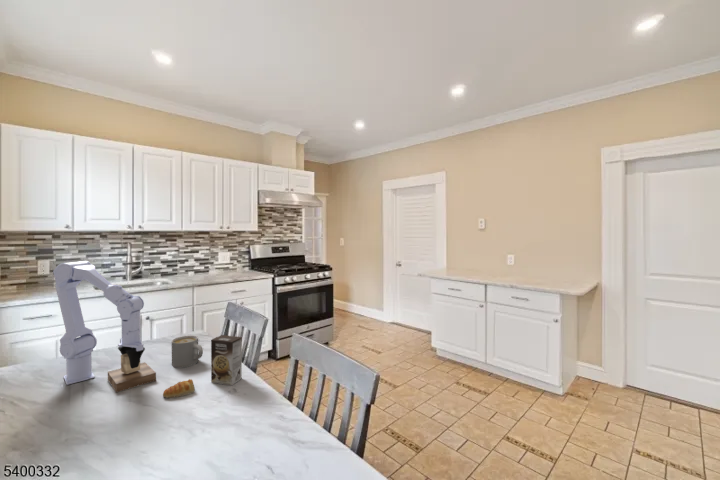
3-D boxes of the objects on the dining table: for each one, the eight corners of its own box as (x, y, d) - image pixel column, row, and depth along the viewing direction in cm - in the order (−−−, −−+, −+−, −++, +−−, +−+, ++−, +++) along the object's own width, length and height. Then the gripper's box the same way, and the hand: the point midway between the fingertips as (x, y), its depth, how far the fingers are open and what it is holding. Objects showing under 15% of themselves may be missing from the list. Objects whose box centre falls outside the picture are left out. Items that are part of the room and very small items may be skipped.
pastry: (165, 402, 106) (165, 390, 105) (161, 394, 111) (160, 383, 110) (196, 392, 112) (196, 382, 112) (190, 386, 117) (190, 375, 117)
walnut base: (107, 379, 121) (107, 371, 121) (145, 369, 130) (145, 362, 129) (116, 392, 111) (116, 383, 111) (156, 380, 120) (155, 372, 120)
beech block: (121, 371, 119) (120, 355, 119) (134, 366, 123) (134, 351, 123) (126, 374, 117) (126, 357, 117) (140, 369, 121) (139, 353, 120)
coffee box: (210, 383, 119) (210, 339, 118) (221, 375, 125) (221, 334, 124) (232, 386, 116) (231, 341, 116) (242, 378, 123) (242, 336, 122)
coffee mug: (166, 364, 134) (166, 340, 134) (188, 356, 143) (188, 334, 143) (187, 371, 128) (187, 346, 128) (208, 362, 137) (208, 338, 137)
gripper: (110, 329, 120) (110, 364, 121) (127, 336, 112) (127, 374, 113) (131, 324, 126) (132, 358, 127) (149, 331, 118) (149, 367, 119)
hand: (131, 365), depth 120 cm, fingers closed on beech block, 4 cm apart
